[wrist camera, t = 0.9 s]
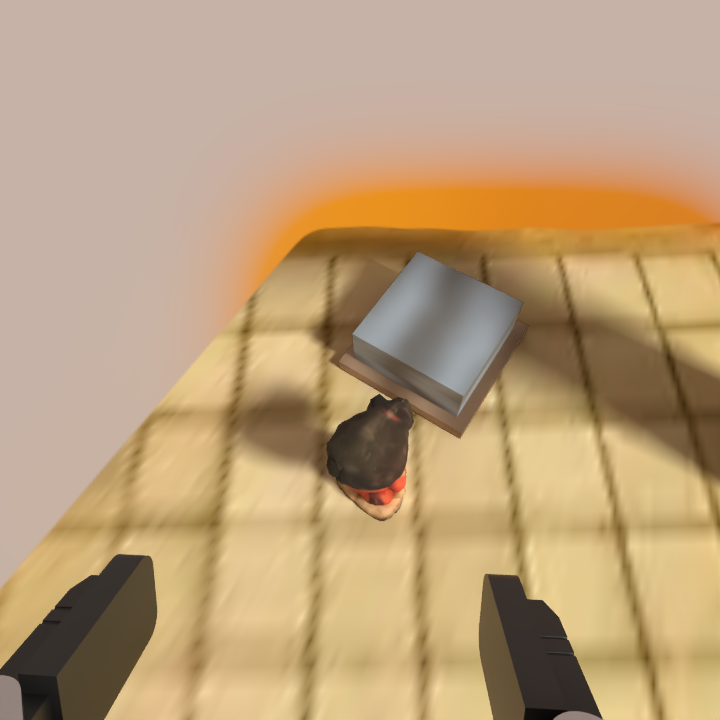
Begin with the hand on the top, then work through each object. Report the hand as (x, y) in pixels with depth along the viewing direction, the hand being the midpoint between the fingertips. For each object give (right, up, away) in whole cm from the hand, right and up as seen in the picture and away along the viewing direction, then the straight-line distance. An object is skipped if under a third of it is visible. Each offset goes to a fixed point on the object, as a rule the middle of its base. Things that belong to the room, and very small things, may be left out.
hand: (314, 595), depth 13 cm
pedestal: (+8, +7, +34) cm, 36 cm away
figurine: (+2, -4, +29) cm, 29 cm away
